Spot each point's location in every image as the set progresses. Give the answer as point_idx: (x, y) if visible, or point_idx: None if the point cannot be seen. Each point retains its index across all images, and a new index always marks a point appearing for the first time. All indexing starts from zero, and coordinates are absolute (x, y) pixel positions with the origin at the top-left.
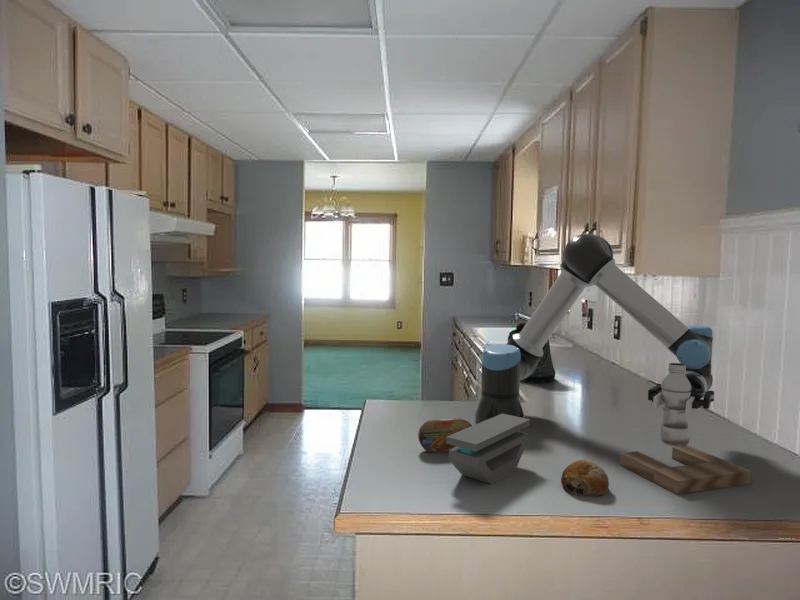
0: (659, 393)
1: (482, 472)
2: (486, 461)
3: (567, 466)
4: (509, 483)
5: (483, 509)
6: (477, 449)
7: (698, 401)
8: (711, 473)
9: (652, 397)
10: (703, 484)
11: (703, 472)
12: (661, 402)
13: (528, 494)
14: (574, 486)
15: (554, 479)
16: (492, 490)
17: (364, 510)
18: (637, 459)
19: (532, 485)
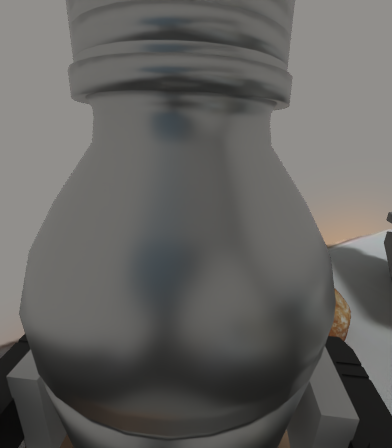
0: (321, 360)
1: (386, 254)
2: None
3: (339, 293)
4: (383, 293)
5: (334, 252)
6: (388, 219)
7: (11, 351)
8: (66, 435)
9: (336, 341)
10: None
11: None
12: (290, 424)
13: (337, 281)
14: None
15: (363, 327)
16: (372, 275)
17: (385, 231)
18: (285, 443)
19: (360, 300)
